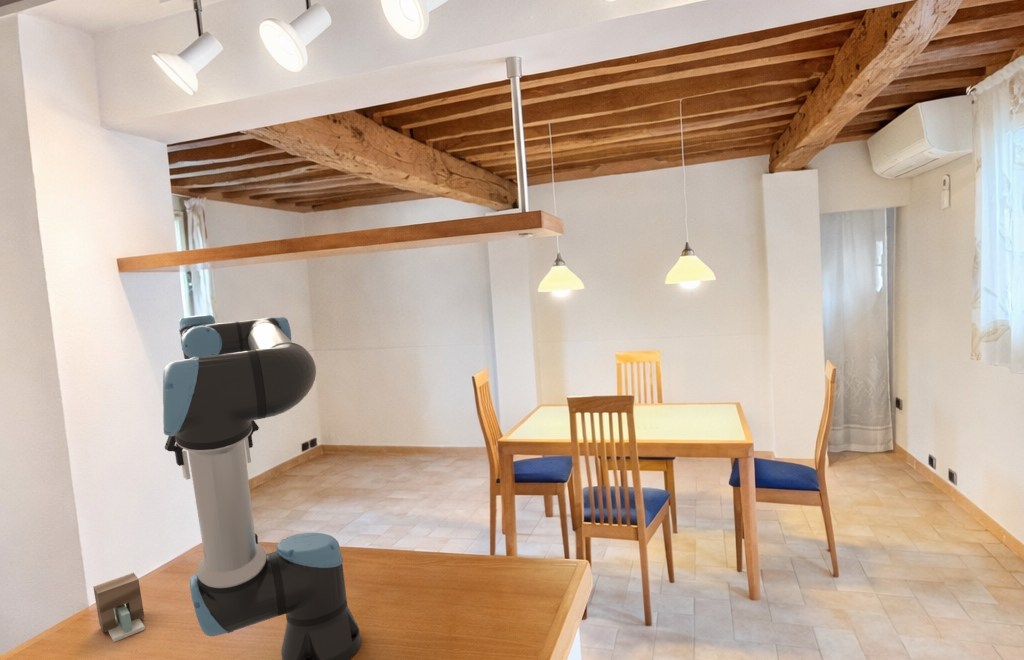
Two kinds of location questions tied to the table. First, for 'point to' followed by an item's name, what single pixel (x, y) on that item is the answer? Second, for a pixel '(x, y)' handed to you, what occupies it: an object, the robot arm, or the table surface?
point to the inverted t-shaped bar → (124, 624)
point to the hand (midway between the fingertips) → (218, 469)
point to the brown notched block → (118, 599)
